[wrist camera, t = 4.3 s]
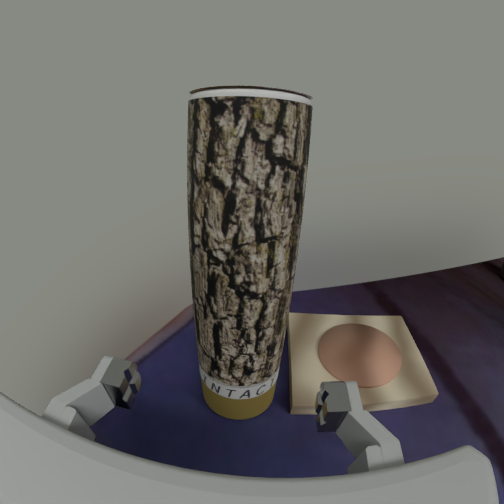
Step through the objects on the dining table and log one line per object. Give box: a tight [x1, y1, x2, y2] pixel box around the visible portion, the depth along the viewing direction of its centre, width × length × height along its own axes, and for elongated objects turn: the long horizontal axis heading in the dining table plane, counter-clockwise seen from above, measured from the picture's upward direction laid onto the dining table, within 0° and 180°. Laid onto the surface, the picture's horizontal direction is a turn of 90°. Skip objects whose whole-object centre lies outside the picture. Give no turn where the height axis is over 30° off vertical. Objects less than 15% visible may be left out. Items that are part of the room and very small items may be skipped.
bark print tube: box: [187, 86, 312, 420], centre depth 19 cm, size 7×7×25 cm
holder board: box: [287, 313, 438, 414], centre depth 28 cm, size 16×14×2 cm
